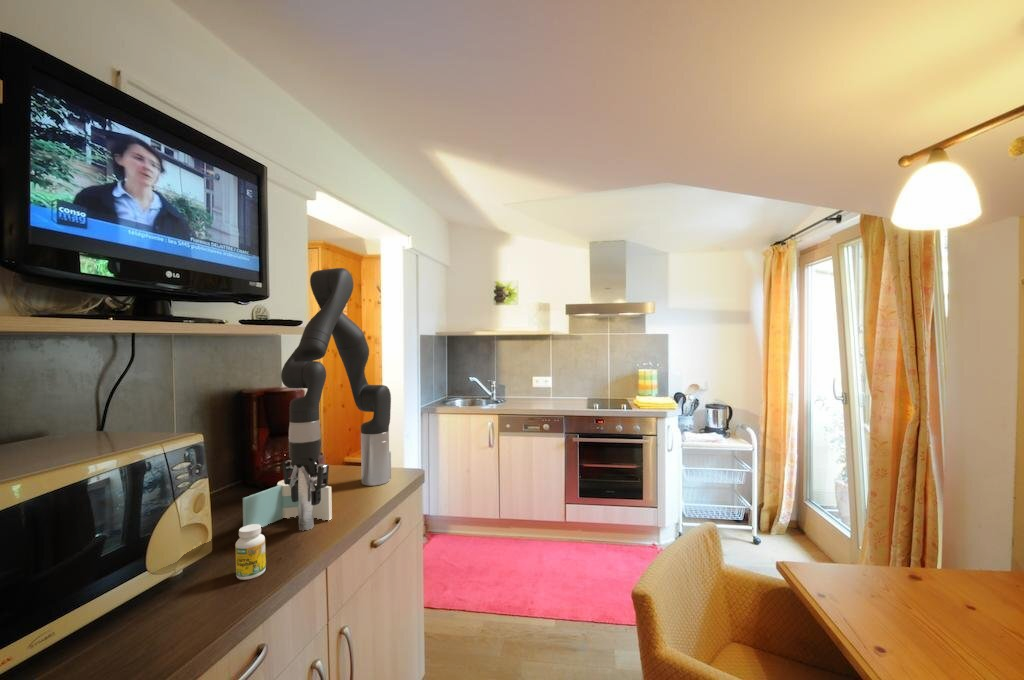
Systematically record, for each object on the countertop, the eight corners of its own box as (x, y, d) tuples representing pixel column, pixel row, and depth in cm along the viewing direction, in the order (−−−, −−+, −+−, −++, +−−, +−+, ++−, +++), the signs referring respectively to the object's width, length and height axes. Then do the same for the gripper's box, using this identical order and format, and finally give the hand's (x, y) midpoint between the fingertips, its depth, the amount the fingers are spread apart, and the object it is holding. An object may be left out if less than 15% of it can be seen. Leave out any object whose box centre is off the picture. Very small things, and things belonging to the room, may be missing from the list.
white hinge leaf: (293, 507, 129) (293, 476, 129) (340, 515, 122) (339, 483, 122) (272, 516, 123) (271, 483, 123) (320, 525, 116) (319, 491, 116)
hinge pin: (306, 524, 117) (305, 464, 117) (316, 526, 115) (315, 465, 116) (295, 529, 114) (294, 467, 114) (305, 532, 112) (304, 469, 112)
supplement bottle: (269, 565, 95) (268, 521, 96) (261, 578, 90) (260, 531, 90) (241, 569, 94) (240, 523, 94) (231, 582, 89) (230, 534, 89)
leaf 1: (293, 507, 129) (293, 476, 129) (311, 510, 127) (310, 479, 127) (235, 531, 113) (234, 496, 113) (254, 536, 110) (253, 500, 110)
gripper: (337, 437, 115) (338, 501, 115) (296, 433, 121) (297, 494, 121) (314, 443, 108) (315, 511, 108) (272, 439, 114) (273, 504, 114)
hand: (305, 502), depth 115 cm, fingers open, 6 cm apart
